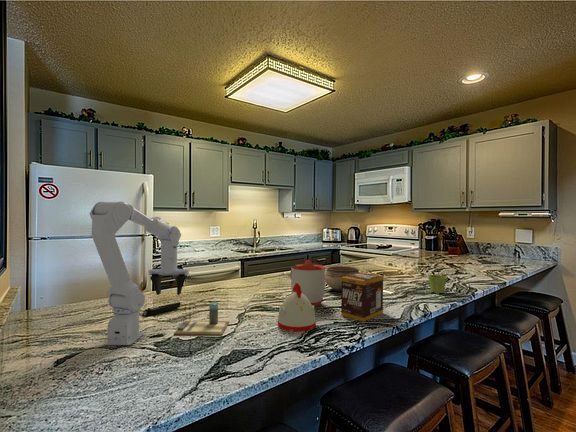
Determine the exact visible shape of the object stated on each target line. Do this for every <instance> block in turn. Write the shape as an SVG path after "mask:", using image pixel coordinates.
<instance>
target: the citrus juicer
mask: <svg viewBox="0 0 576 432" xmlns="http://www.w3.org/2000/svg"><path fill="white" fill-rule="evenodd" d="M325 274H326V266H324V265H321V264H313V262H312V261H311V260H310V259H307V260H305V262H304V263H301V264H300V263H299V264H298V263H297V264H295V266H294V267H292V266H291V267H290V273H288V274H287V278H290V282H291V284H290V285H291V288H290V289H291V294H292V293H293V288H294V285H295V283H298V284H299V286H301V290H302V294H304V295H305V296H306V297H307V298H308V300H309V301H310V303H311V305H312V306H314V308H316V307H319V306H321V305H322V302H323V298H324V295H325V286H326V281H325Z"/></svg>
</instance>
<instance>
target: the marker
mask: <svg viewBox="0 0 576 432" xmlns="http://www.w3.org/2000/svg"><path fill="white" fill-rule="evenodd" d="M208 305H209V306H208V310H209V311H208V312H209V313H208V314H209V315H208V316H209V320H208V321H209V324H210V325H215V324H218V321H219V303H218V302H210V303H209V304H208Z"/></svg>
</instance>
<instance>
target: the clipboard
mask: <svg viewBox="0 0 576 432" xmlns="http://www.w3.org/2000/svg"><path fill="white" fill-rule="evenodd" d="M229 324H230V321H229V320H227V321H226V320H224V321H223V320H221V321H220V320H218V324H215V325H210V324H209V320H184V321H182V323H180V324H179V326H177V330H175V332H174V333H173V336H218V337H219V336H220V337H221V336H223V335H224V333H225V332H226V329H227V328H228V326H229Z"/></svg>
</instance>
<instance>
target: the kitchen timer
mask: <svg viewBox="0 0 576 432" xmlns="http://www.w3.org/2000/svg"><path fill="white" fill-rule="evenodd" d="M315 309H316V307H314V306H312V305H311V303H310V301H309V300H308V298H307V297H306V296H305V295H304V294H302V290H301V286H299V284H298V283H295V285H294V288H293V293H292V292H291V293H290V294H289V295H288V296H287V297H285V299H284V301H283V303H282V304H280V305H279V310H278V314H277V315H278V316H277V327H279V328H280V329H282V330H283V331H284V330H285V331H288V332H307V331H310V330H311V331H312V330H313V329H315V328H316V323H317V321H316V310H315Z"/></svg>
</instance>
